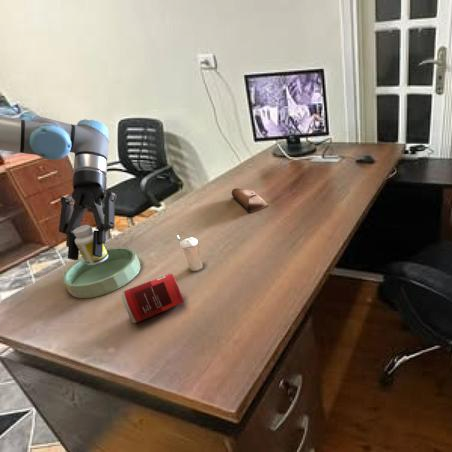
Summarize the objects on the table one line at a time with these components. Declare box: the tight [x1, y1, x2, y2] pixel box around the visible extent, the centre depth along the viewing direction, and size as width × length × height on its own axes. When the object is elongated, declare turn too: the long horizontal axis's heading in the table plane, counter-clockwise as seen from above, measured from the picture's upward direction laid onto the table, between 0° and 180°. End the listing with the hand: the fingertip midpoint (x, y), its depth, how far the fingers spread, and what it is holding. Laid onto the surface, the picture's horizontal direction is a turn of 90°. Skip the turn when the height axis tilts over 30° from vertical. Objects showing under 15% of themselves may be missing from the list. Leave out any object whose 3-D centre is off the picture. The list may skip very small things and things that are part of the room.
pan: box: [61, 246, 141, 299], centre depth 96 cm, size 18×18×4 cm
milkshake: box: [176, 235, 204, 272], centre depth 95 cm, size 4×5×10 cm
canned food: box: [121, 273, 185, 324], centre depth 81 cm, size 8×8×11 cm
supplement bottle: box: [73, 224, 108, 265], centre depth 92 cm, size 5×5×10 cm
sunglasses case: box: [231, 188, 269, 213], centre depth 132 cm, size 18×7×7 cm
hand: (85, 257), depth 90 cm, fingers closed on supplement bottle, 5 cm apart
